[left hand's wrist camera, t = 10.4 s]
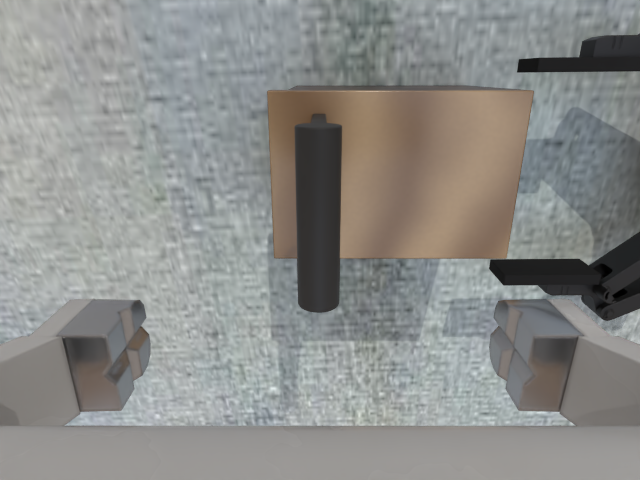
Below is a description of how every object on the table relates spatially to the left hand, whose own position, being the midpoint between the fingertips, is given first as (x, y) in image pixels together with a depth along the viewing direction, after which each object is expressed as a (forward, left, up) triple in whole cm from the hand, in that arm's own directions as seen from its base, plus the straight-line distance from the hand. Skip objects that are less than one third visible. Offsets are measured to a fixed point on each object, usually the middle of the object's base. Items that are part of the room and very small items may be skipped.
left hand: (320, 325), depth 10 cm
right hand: (+12, +3, -19) cm, 23 cm away
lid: (+4, +1, -16) cm, 16 cm away
